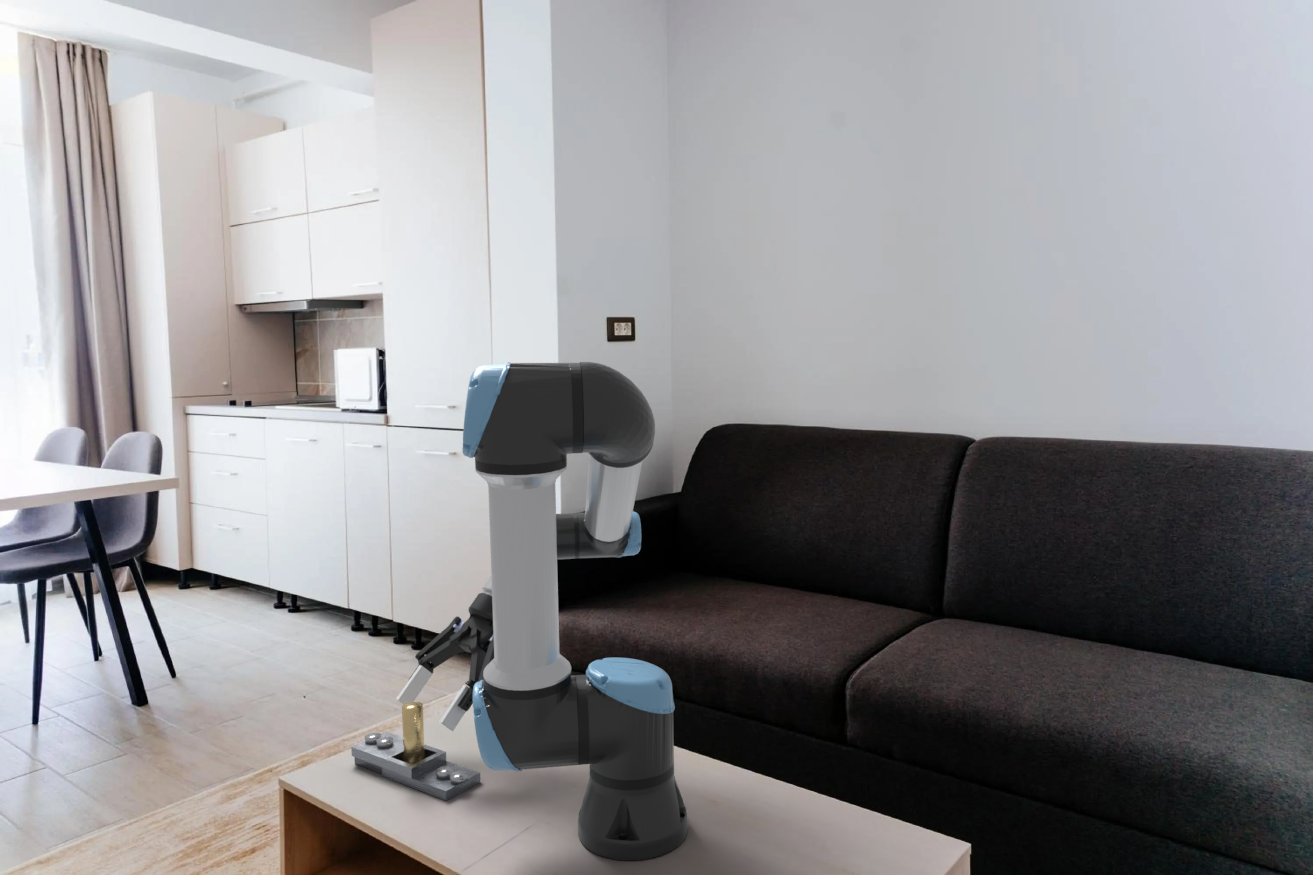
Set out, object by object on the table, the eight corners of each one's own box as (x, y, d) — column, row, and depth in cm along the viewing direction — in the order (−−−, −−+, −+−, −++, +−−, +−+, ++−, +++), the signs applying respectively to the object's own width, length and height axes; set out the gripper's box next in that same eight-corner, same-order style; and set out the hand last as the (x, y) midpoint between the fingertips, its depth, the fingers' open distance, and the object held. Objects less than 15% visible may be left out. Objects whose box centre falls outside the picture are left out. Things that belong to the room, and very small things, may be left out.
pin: (428, 773, 139) (425, 706, 138) (408, 779, 137) (406, 711, 136) (420, 766, 141) (418, 700, 140) (401, 772, 139) (398, 705, 139)
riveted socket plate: (481, 782, 136) (481, 758, 135) (447, 801, 130) (446, 776, 130) (386, 748, 148) (385, 726, 148) (350, 764, 143) (349, 741, 142)
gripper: (557, 629, 143) (481, 748, 133) (472, 602, 160) (401, 705, 151) (529, 604, 138) (449, 725, 129) (445, 579, 156) (370, 683, 147)
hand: (423, 714), depth 140 cm, fingers open, 13 cm apart
